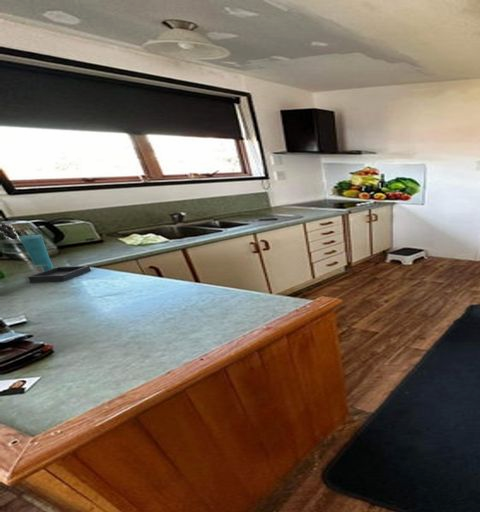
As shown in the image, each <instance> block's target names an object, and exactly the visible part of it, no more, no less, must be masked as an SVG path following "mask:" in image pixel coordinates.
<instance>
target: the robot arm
mask: <svg viewBox="0 0 480 512" xmlns="http://www.w3.org/2000/svg"><path fill="white" fill-rule="evenodd" d="M13 230H14V227H12V226H9V224H8V225H7V224H5V223H4V222H1V221H0V235H3V236H5V237H7V238H9V239H11V240H16V239H17V237H18V234H16V233H15V232H13Z"/></svg>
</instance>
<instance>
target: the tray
mask: <svg viewBox="0 0 480 512" xmlns="http://www.w3.org/2000/svg"><path fill="white" fill-rule="evenodd" d="M90 271H92V269H91V267H90V265H71V266H67V265H66V266H56V267H53V269H50V270H47V271H44V272H41V273H35V274H32V275H29V276H27V279H28V280H29V282H30V283H42V282H66V281H68V280H70V279H73V278H75V277H78V276H81V275H84V274H86V273H88V272H90Z"/></svg>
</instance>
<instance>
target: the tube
mask: <svg viewBox="0 0 480 512" xmlns="http://www.w3.org/2000/svg"><path fill="white" fill-rule="evenodd" d="M17 237H18V239H19V241H20V242H21V244H22V245H23V247H24V248H25V250H26V252H27V254H28V256H29V258H30V260H31V261H32V263H33V265H34V267H35V269H36V272H38V273H41V272H44V271H47V270H50V269H53V268H54V266H53V263H52V260H51V258H50V255H49V253H48V250H47V247H46V245H45V241H44V238H43V234H41V233H40V234H33V235H32V234H31V235H17ZM38 273H37V274H38Z"/></svg>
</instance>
